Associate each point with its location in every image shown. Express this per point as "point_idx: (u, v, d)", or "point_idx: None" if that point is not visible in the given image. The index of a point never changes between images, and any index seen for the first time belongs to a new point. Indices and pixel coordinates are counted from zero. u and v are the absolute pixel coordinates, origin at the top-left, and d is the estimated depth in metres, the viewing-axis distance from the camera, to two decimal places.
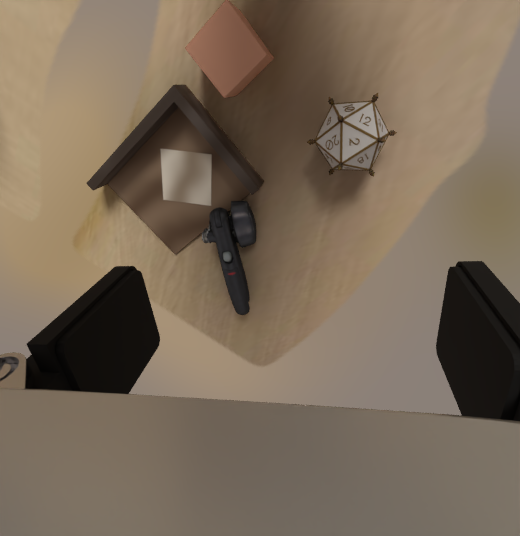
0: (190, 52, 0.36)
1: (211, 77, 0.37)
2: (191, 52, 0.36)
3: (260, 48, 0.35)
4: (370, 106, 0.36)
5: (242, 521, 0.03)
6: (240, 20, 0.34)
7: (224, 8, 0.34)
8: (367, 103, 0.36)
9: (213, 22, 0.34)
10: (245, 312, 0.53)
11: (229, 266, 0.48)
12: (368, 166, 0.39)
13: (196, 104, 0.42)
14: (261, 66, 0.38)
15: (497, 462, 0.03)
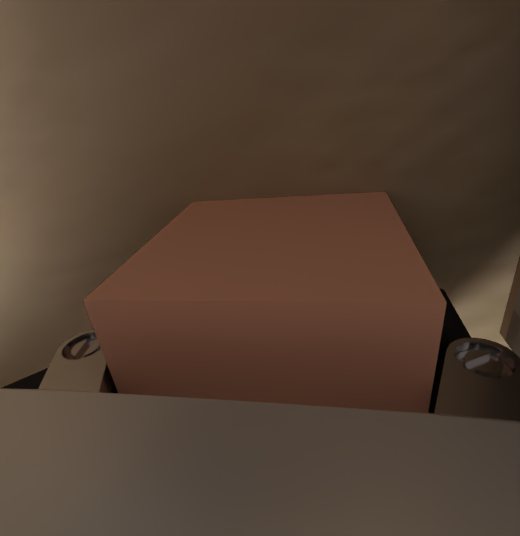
0: None
1: (410, 410, 0.06)
2: None
3: (103, 336, 0.07)
4: None
5: (242, 521, 0.03)
6: None
7: None
8: None
9: None
10: None
11: None
12: None
13: None
14: (209, 230, 0.09)
15: (497, 462, 0.03)
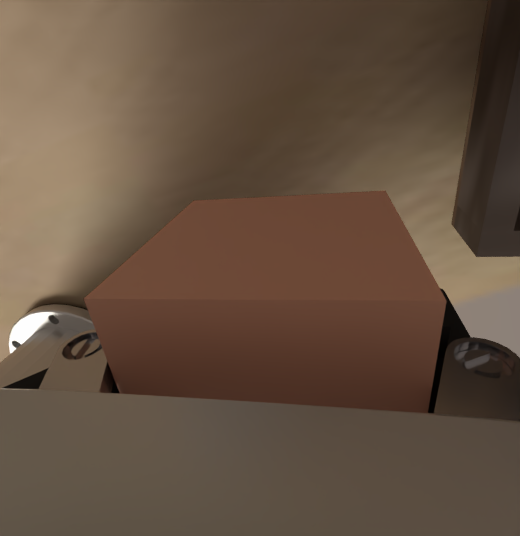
0: None
1: (410, 408, 0.06)
2: None
3: (103, 335, 0.07)
4: None
5: (242, 521, 0.03)
6: None
7: None
8: None
9: None
10: None
11: None
12: None
13: (471, 182, 0.16)
14: (210, 229, 0.09)
15: (497, 462, 0.03)
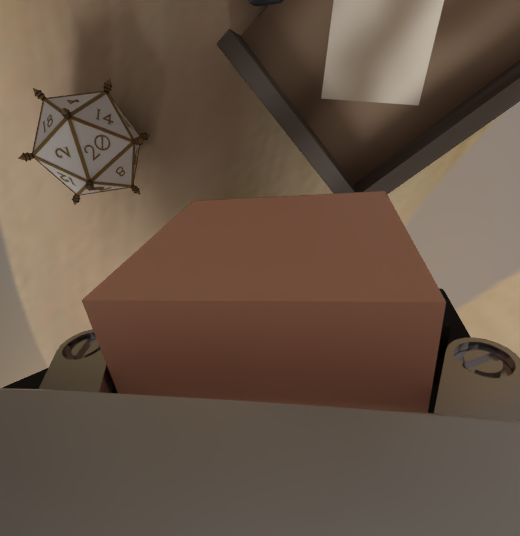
0: None
1: (410, 410, 0.06)
2: None
3: (102, 336, 0.07)
4: (74, 190, 0.28)
5: (242, 521, 0.03)
6: None
7: None
8: (80, 193, 0.28)
9: None
10: None
11: None
12: (44, 106, 0.25)
13: None
14: (209, 229, 0.09)
15: (497, 462, 0.03)
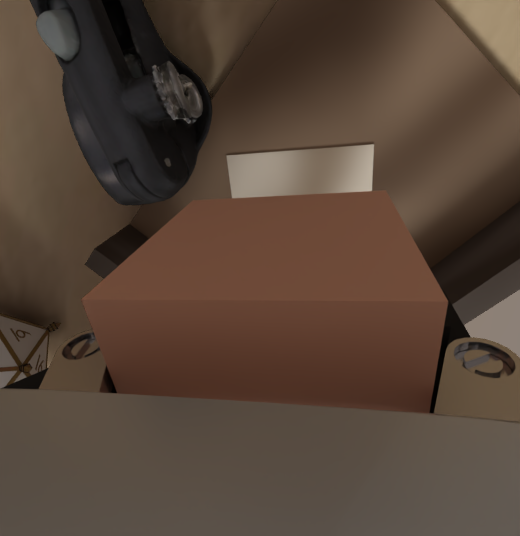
0: None
1: (411, 410, 0.06)
2: None
3: (101, 336, 0.07)
4: None
5: (242, 521, 0.03)
6: None
7: None
8: None
9: None
10: None
11: None
12: None
13: None
14: (209, 229, 0.09)
15: (497, 463, 0.03)
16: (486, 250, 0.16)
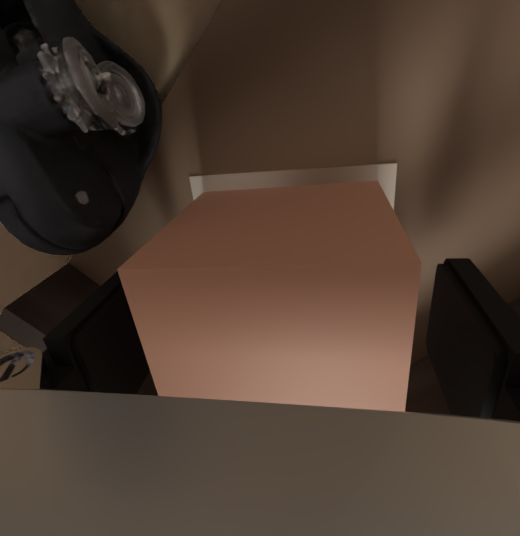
0: None
1: (395, 360, 0.07)
2: None
3: (133, 301, 0.08)
4: None
5: (242, 521, 0.03)
6: None
7: None
8: None
9: None
10: None
11: None
12: None
13: None
14: (220, 214, 0.10)
15: (496, 462, 0.03)
16: None
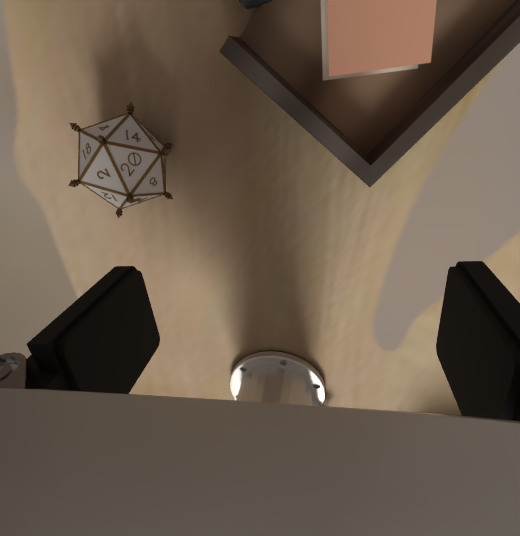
0: (428, 50, 0.21)
1: None
2: (427, 48, 0.21)
3: None
4: (117, 205, 0.31)
5: (242, 521, 0.03)
6: (329, 36, 0.21)
7: (339, 67, 0.22)
8: (122, 207, 0.31)
9: (365, 62, 0.22)
10: None
11: None
12: (81, 136, 0.28)
13: None
14: None
15: (497, 462, 0.03)
16: (506, 18, 0.23)
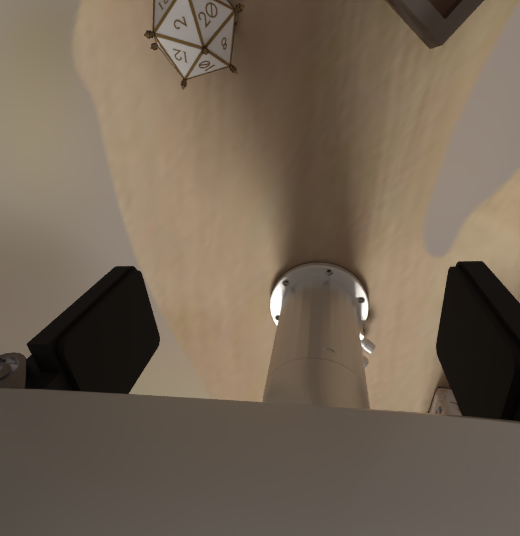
0: None
1: None
2: None
3: None
4: (183, 73, 0.31)
5: (242, 521, 0.03)
6: None
7: None
8: (188, 75, 0.31)
9: None
10: None
11: None
12: None
13: (413, 23, 0.30)
14: None
15: (496, 462, 0.03)
16: None
